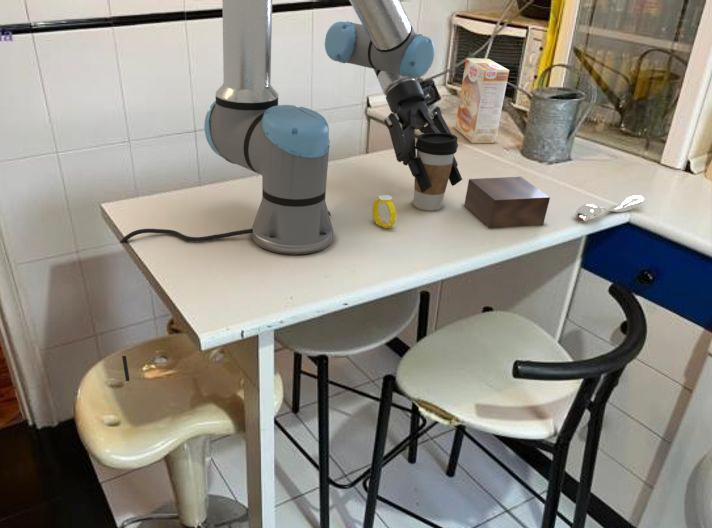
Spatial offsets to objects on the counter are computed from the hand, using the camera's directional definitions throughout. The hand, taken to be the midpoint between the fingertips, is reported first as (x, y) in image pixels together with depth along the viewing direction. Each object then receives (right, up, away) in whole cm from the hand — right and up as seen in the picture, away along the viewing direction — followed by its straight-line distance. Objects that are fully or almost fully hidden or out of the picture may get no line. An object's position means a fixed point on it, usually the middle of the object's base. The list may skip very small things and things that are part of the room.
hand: (442, 185), depth 135 cm
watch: (-13, -9, -4) cm, 16 cm away
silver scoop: (+37, -5, +5) cm, 38 cm away
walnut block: (+13, -6, +2) cm, 15 cm away
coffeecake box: (+21, +24, +51) cm, 61 cm away
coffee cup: (-2, -3, +5) cm, 7 cm away
